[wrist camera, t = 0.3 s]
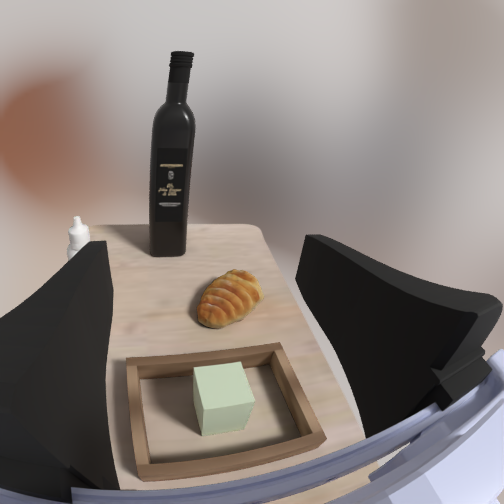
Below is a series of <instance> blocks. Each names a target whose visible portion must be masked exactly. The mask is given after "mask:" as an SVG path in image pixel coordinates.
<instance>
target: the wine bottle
mask: <svg viewBox="0 0 504 504" xmlns="http://www.w3.org/2000/svg"><path fill="white" fill-rule="evenodd" d="M171 56H172V57H171V60H170V62H171V63H170V64H169V66H170V72H169V80H168V88H167V95H166V102H165V103H164V104H163V105H162V106H161V107H160V108H159V109H158V111H157V112H156V114H155V117H154V121H153V128H152V142H151V160H150V161H151V162H150V192H149V193H150V194H149V201H150V202H149V231H150V253H151V255H153V256H156V257H162V256H181V255H183V254H185V251H186V235H187V217H188V204H189V190H190V178H191V167H192V157H193V147H194V137H195V118H194V115H193V112H192V111H191V109H190V107H189V106H188V105H187V103H186V98H187V90H188V83H189V77H190V69H191V68H192V60H193V58H192V57H194V53H192V52H185V51H174V52H171Z"/></svg>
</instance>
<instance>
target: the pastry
mask: <svg viewBox="0 0 504 504" xmlns="http://www.w3.org/2000/svg"><path fill="white" fill-rule="evenodd" d="M263 299H264V294H263V292H262V289H261V287H260V285H259V283H258V280H257V279H256V278H255V277H254V276H253V275H252V274H250V273H248V272H246V271H243V270H240V271H239V270H236V269H233V270H232V271H228V272H227V273H226V274H225V275H222V276H220V277H218V278H217V279H215V280H214V281H213V282H212V284H210V285H209V286H208V287H207V288H206V290H205V291H204V293H203V295H202V297H201V301H200V303H199V305H198V306H197V313H198V321H199V322H200V323H202V324H203V325H205V326H207V327H211V328H216V329H220V328H223V327H225V326H226V325H229V324H232V323H234V322H238V321H241V320H243V319H244V317H246V316H247V315H248V314H249V313H250V312H251V311H253V310H254V309H255V308H256V306H257V305H258V304H259V303H260V302H261V301H262V300H263Z"/></svg>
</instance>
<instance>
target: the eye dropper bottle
mask: <svg viewBox="0 0 504 504" xmlns="http://www.w3.org/2000/svg"><path fill="white" fill-rule="evenodd" d="M68 233H69V239H70V244H69V246H68V248H67V255H68V261H69V260H70V259H71V258H72V257H73V256H74V255H75V254H76V253H77V252H78V251H79V250H80V249H81V248H82V247H83V246H85V245H86V244H87V243H88V242H89V241H90V235H89V228H88V226H87V225H85V224H82V223H81V219H80V217H79V216H75V217H74V223H73V226H72V227H70V228H69V231H68Z"/></svg>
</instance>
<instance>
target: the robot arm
mask: <svg viewBox="0 0 504 504" xmlns="http://www.w3.org/2000/svg"><path fill="white" fill-rule="evenodd" d="M295 279H296V282H297V285H298V287H299V290H300V292H301V294H302V296H303V299H304V301H305V302H306V304H307V306H308V307H309V309H310V311H311V312H312V314H313V316H314V317H315V319H316V320H317V322H318V323H319V325H320V327H321V328H322V330H323V331H324V333H325V335H326V336H327V338H328V339H329V341H330V343H331V344H332V346H333V348H334V350H335V352H336V354H337V356H338V358H339V361H340V363H341V365H342V367H343V369H344V372H345V374H346V377H347V379H348V382H349V384H350V386H351V389H352V392H353V395H354V397H355V401H356V404H357V407H358V409H359V413H360V417H361V421H362V424H363V428H364V432H365V437H366V439H365V440H362V441H360V442H358V443H356V444H353V445H351V446H348V447H346V448H343V449H341V450H338V451H336V452H333V453H331V454H328V455H325V456H322V457H320V458H317V459H314V460H311V461H308V462H305V463H302V464H298V465H295V466H292V467H288V468H285V469H281V470H278V471H274V472H270V473H266V474H262V475H258V476H254V477H249V478H245V479H240V480H235V481H229V482H224V483H218V484H211V485H204V486H196V487H188V488H177V489H164V490H138V491H123V490H120V487H119V483H118V479H117V474H116V470H115V465H114V460H113V454H112V448H111V442H110V435H109V426H108V416H107V405H106V383H105V378H106V363H107V354H108V345H109V337H110V330H111V323H112V316H113V291H114V290H113V285H112V279H111V272H110V266H109V259H108V251H107V243H106V241H89V242H88V243H87V244H86V245H85V246H83V247H82V248H81V249H80V250H79V251H78V252H77V253H76V254H75V255H74V256H73V257H72V258H71V259H70V260H69V261H68V262H67V263H66V264H65V265H64V266H63V267H62V268H61V269H60V270H59V271H58V272H57V273H56V274H55V275H53V276H52V277H51V278H50V279H49V280H48V281H47V282H46V283H45V284H44V285H43V286H42V287H41V288H39V289H38V290H37V291H36V292H35V293H34V294H32V295H31V296H30V297H29V298H28V299H26V300H25V301H24V302H22V303H21V304H20V305H19V306H17V307H16V308H15V309H13V310H11V311H10V312H9V313H7V314H6V315H4V316H3V317H1V318H0V504H262V503H266V502H270V501H274V500H277V499H281V498H284V497H288V496H291V495H294V494H297V493H300V492H303V491H306V490H309V489H312V488H315V487H317V486H320V485H323V484H325V483H328V482H330V481H333V480H335V479H338V478H340V477H343V476H345V475H347V474H349V473H352V472H354V471H356V470H358V469H360V468H363V467H365V466H367V465H369V464H371V463H373V462H375V461H377V460H379V459H380V458H383V457H385V456H386V455H388V454H390V453H392V452H394V451H395V450H397V449H399V448H401V447H402V446H404V445H406V444H408V443H409V442H410V444H409V445H408V446H407V447H405V448H404V449H402V450H401V451H400V452H399V453H398V454H397V455H396V456H395V457H393V458H392V459H391V460H389V461H388V462H387V463H385V464H384V465H383V466H381V467H380V468H378V469H377V470H375V471H374V472H372V473H371V474H369V476H368V478H369V479H370V481H371V482H370V483H368V484H366V485H365V486H363V487H361V488H358V489H356V490H354V491H352V492H350V493H348V494H346V495H344V496H341V497H339V498H337V499H334V500H332V501H330V502H327V503H325V504H500V503H499V501H498V500H497V496H498V495H499V494H500V493H501V492H502V490H503V489H504V350H503V349H499V350H498V351H497V352H496V353H494V354H493V355H492V356H491V357H490V358H489V359H488V360H487V361H485V360H484V359H483V358H482V356H483V355H484V354H485V350H484V349H483V348H482V347H481V345H482V344H483V343H484V341H485V340H486V338H487V337H488V335H489V334H490V332H491V331H492V329H493V328H494V326H495V324H496V323H497V321H498V319H499V317H500V315H501V312H502V307H503V306H502V303H501V302H500V301H499V300H498V299H497V298H496V297H494V296H492V295H490V294H485V293H478V292H471V291H464V290H459V289H454V288H450V287H446V286H443V285H438V284H435V283H432V282H429V281H426V280H422V279H419V278H416V277H414V276H411V275H409V274H406V273H403V272H401V271H398V270H396V269H394V268H391V267H389V266H387V265H385V264H383V263H380V262H378V261H376V260H374V259H372V258H370V257H368V256H366V255H364V254H362V253H360V252H358V251H356V250H354V249H352V248H350V247H348V246H346V245H344V244H342V243H340V242H337V241H335V240H333V239H331V238H328V237H326V236H323V235H306V236H305V240H304V245H303V249H302V253H301V257H300V262H299V265H298V270H297V274H296V278H295Z"/></svg>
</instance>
